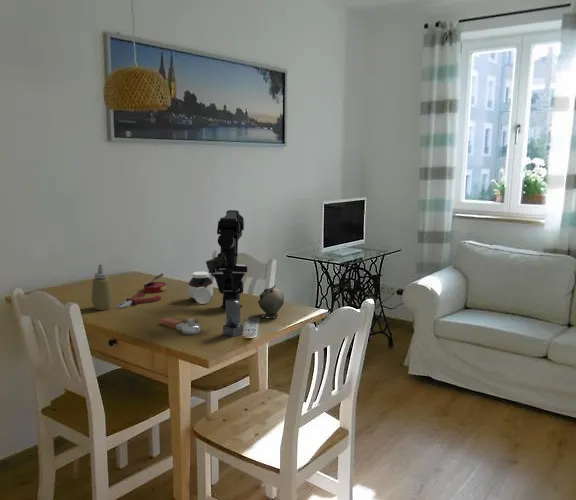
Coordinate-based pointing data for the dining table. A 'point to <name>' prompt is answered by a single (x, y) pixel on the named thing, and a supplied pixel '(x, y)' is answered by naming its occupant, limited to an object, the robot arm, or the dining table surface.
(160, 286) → the canned food
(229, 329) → the socket
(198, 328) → the ratchet
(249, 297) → the dining table surface
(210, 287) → the spread jar
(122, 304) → the pliers
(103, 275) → the squeeze bottle
